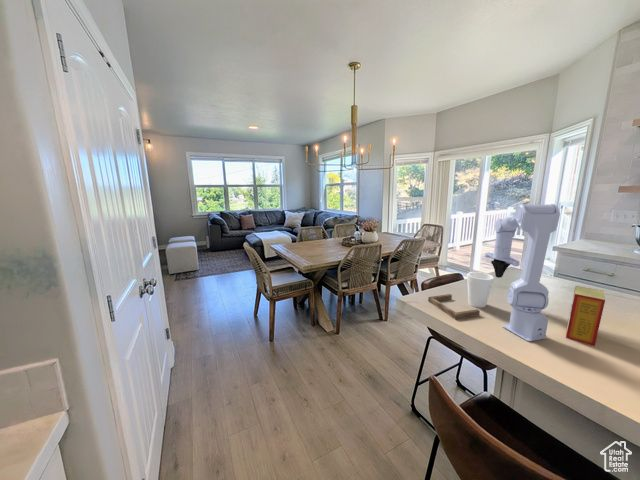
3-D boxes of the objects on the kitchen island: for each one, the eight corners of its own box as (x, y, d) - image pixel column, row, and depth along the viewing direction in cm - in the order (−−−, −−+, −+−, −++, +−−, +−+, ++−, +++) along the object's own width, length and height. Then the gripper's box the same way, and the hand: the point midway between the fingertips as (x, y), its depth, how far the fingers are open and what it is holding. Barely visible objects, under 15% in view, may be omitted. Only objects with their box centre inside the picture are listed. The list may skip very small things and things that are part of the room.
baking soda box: (567, 326, 90) (575, 284, 87) (593, 333, 86) (603, 289, 82) (565, 337, 84) (575, 293, 80) (594, 346, 79) (605, 299, 76)
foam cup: (482, 299, 112) (486, 272, 110) (494, 309, 103) (498, 279, 101) (460, 299, 113) (463, 271, 111) (470, 308, 104) (473, 279, 102)
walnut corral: (479, 315, 99) (479, 310, 99) (455, 319, 97) (455, 314, 96) (449, 298, 114) (450, 294, 114) (428, 301, 112) (428, 296, 112)
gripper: (527, 250, 102) (522, 281, 104) (495, 242, 115) (491, 270, 118) (513, 251, 100) (508, 283, 103) (482, 243, 114) (479, 272, 117)
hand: (498, 276), depth 110 cm, fingers closed
